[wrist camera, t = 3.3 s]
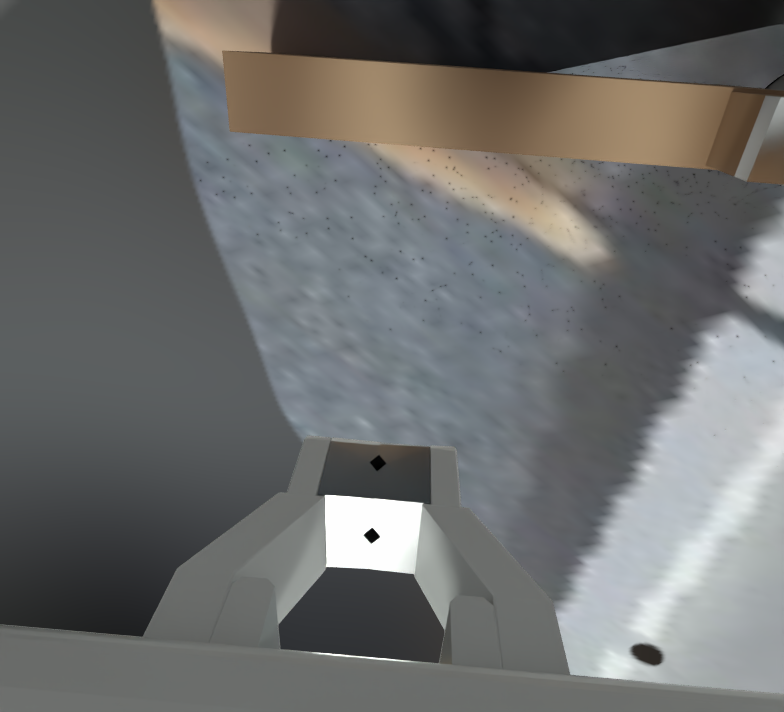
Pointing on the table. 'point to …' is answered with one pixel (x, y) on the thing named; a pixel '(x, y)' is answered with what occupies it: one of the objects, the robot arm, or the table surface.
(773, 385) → the table surface
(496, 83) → the tongs jaw
